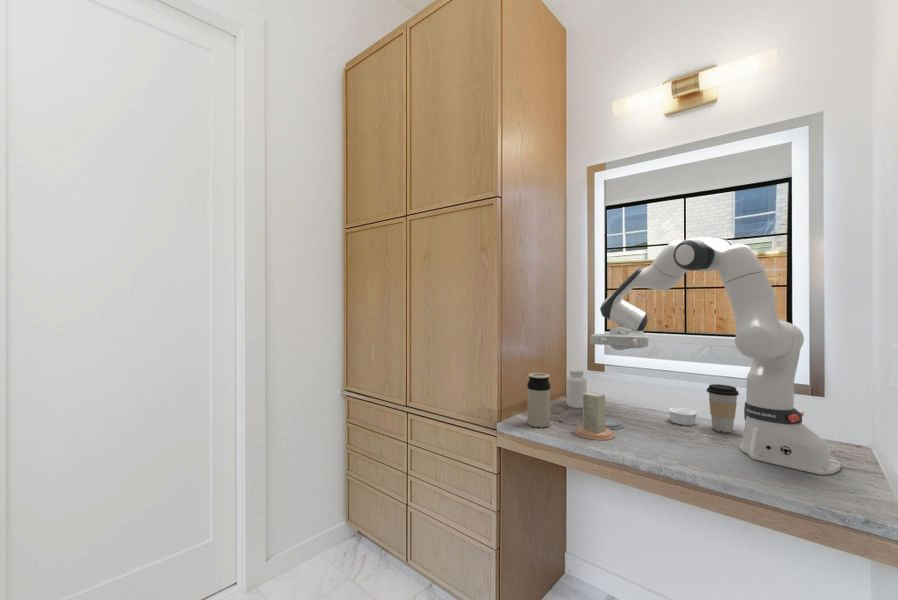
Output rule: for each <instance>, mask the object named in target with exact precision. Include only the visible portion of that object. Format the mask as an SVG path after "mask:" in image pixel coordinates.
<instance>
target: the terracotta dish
mask: <svg viewBox="0 0 898 600" xmlns="http://www.w3.org/2000/svg"><path fill="white" fill-rule="evenodd" d="M573 431H574V434H575V435H576V436H578V437H581V438H582V439H587V440H593V441H610V440H613V439H614V438H616V433H615V432H614V430H610V429H608V428H606V431H603V432H600V433H596V432H593V431H589V430H586V429H583V424H582V425H579V426H577V427H575V428H574V430H573Z"/></svg>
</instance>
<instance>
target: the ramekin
mask: <svg viewBox="0 0 898 600" xmlns="http://www.w3.org/2000/svg"><path fill="white" fill-rule="evenodd" d="M668 412H669V420H670V422H671V423H673V424H675V423H677V424H676V425H679V424H682V425H681V426H687V425H690V426H694V425H695V423H696V418H697V411H695V410H692V409H690V408H684V407H670V408H669V409H668ZM693 424H694V425H693Z"/></svg>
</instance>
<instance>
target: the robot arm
mask: <svg viewBox="0 0 898 600" xmlns="http://www.w3.org/2000/svg"><path fill="white" fill-rule="evenodd" d="M687 271H691V272H692V271H694V272H695V271H702V272H712V271H716V272H717V273H718V274H719V276H720V278H721V282H722V284H723V286H724V289H725V292H726V293H727V297H728V299H729V302H730V304H731V307H732V310H733V314H734V321H735V327H736V334H735V336H734V337H735V338H734V345H735V347H736V348H737V350H738V351H739V352H740V354H742V355H743V356H745V357H747V358H749V359H752V363H751V367H750V369H749V371H748V373H747V376H746V395H745V396H746V398H745V399H746V400H745V402H744V406H743V415H744V416H743V417H744V428H743V429H744V430H743V435H742V438H741V442H740V444H739V448H738V449H740V451H741V452H743V453H744V454H747V455H748V456H749V457H750V458H751V459H752V460H755V461H760V462H764V463H767V464H768V463H769V464H772V465H777V466H781V467H785V468H789V469H794V470H798V471H802V472H806V473H807V472H808V473H811V474H816V475H833V474H835V473H837V472H839V471H840V470H841V469H842V467H841V463H840V462H839V461H838V460H836V459H834V458H831V455H830V450H829V447H828V444H827V442H826V441H825V440H824V439H823V438H822V437H820V436H819V435H818V434H817V433H815V432H814V431H812V430H811V429H810V428H809V427H808V426H806V425H805V424H804V423H803V417H804V416H805V415H804V411H801V412H800V411H798V410H797V409H796V408H795V407H794V406H795V405H794V402H795V399H794V397H795V388H794V387H795V378H796V373H797V369H798V365H799V360H800V359H799V358H800V354H801V348H802V346H803V345H804V341H805V338H804V337H805V336H804V334H803V332H802V330H801V328H799V327H798V326H796V325H795V324H793V323H790V322H788V321H784V320H779V316H778V311H777V305H776V302H777V301H776V300H777V297H776V293H775V291H774V289H773V286H772V284H771V282H770V279H769V278H768V275H767V273H766V271H765V268H764V267H763V265H762V263H761V261H760V260H759V257H757V255H756V253H755V252H754V251H753V249H752V248H751V246H749V245H746V244H741V243H740V244H739V243H737V244H735V243H734V242H732V241H731V240H728V239H725V238H713V237H697V238H696V237H691V238H686V239H684V240H679V239H677V240H672V241H670V242H669V243H668V244H667V245H665V247H664V248H663V249H662V250H661V251H660V252H659V254H658V255H657V256H656V258H655V259H654V260H653V262H652V263H651V264H649V265H648V266H647V267H639V268H637V269H636V270H635V271H633V273H631V274H630V276H629V277H627V278H626V279H625V280H624V281H623V283H622V284H620V285H619V286H618V287H617V289H616V290H615V291H614V292H613V293H612V294H611V295H609V296H608V297H607V298H605V299H604V300H603V301H602V303H601V305H600V308H599V309H600V313H601V316H602V317H603V318H605V319H607V320H609V321H611V322H613V323H615V324H617V326H614V327H612V328H611V329H610V330H609V332H608V333H593V334H590V340H589V341H590V345H599V346H601V345H602V346H603V345H604V346H610V347H611V348H612V349H614V350H616V351H625V350H629V349H643V348H647V347H649V342H650V341H649V336H648V335H647V334H646V333H644V330H645V328H646V327H647V324H648V320H649V319H648V314H647V313H646V312H645V311H644V310H642V309H641V308H639V307H637V306H634V305H633V304H631V303H629V302H628V301H625V300H624V297H625V296H627V295H628V293H629V292H630V291H631V290H632V289H635V288H646V289H649V290H655V291H665V290H669V289H670V290H671V289H672V288H673V287H674V286H676V285H677V284H678V283H679V281H680V280H681V279H682V278H683V276H684V275H685V274H686V272H687Z"/></svg>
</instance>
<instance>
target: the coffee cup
mask: <svg viewBox="0 0 898 600" xmlns="http://www.w3.org/2000/svg"><path fill="white" fill-rule="evenodd" d="M705 391H706V392H707V393H708V398H709V399H708V401H709V412H710V416H711V426H712V429H713V430H714V429H715V430H714V431H716V430H718V431H717V432H720V431H722V432H721V433H727V432H729V433H732V432H733V430H734V421H735V418H736V410H737V400H738V396H739V394H740V393H739V391H738V390H737V387H735V386H732V385H728V384H716V383H715V384H713V383H712V384H709V385H708V387H707V388H706V390H705Z"/></svg>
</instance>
